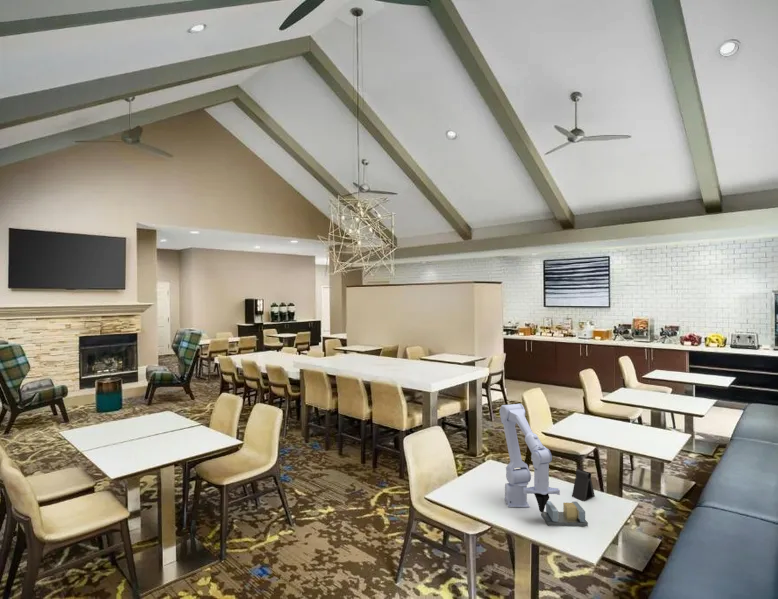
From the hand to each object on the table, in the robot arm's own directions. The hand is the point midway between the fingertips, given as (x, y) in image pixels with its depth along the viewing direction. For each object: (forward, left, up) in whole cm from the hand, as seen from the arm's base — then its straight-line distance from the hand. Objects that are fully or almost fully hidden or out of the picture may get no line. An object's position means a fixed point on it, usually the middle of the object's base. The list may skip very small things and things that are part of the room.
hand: (541, 510), depth 189 cm
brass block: (+12, 0, -2) cm, 12 cm away
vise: (+9, 0, -4) cm, 10 cm away
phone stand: (+26, +23, -4) cm, 35 cm away
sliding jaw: (+5, 0, -2) cm, 5 cm away
